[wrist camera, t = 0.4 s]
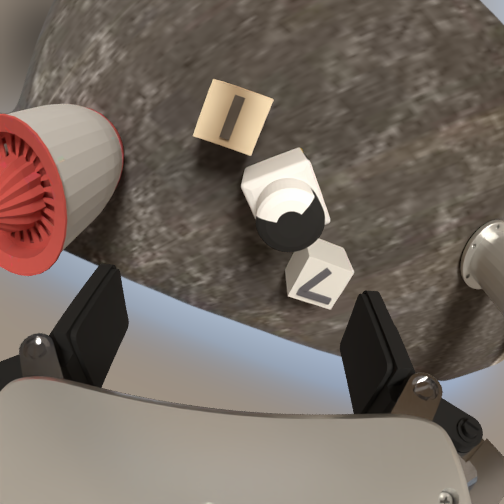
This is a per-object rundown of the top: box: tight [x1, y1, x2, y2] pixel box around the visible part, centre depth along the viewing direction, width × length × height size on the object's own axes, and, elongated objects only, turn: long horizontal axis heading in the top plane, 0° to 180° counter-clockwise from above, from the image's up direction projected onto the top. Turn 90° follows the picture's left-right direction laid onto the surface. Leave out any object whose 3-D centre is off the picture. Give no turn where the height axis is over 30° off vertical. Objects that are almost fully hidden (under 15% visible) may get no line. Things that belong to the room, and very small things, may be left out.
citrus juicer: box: [0, 104, 124, 276], centre depth 26 cm, size 16×17×20 cm
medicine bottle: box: [241, 148, 330, 252], centre depth 31 cm, size 7×7×12 cm
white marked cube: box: [285, 238, 354, 309], centre depth 39 cm, size 6×6×6 cm
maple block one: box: [193, 79, 273, 156], centre depth 30 cm, size 6×6×6 cm
